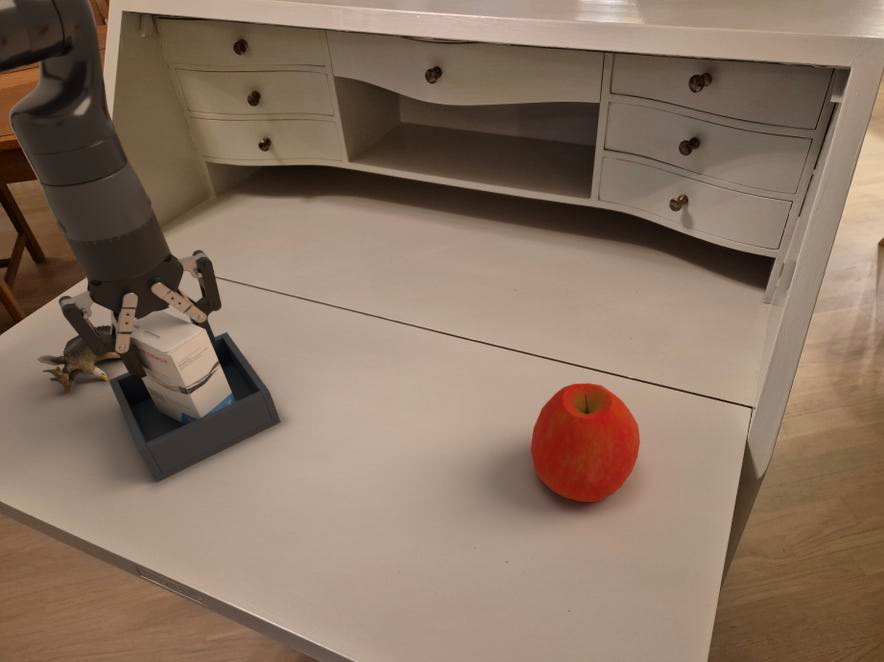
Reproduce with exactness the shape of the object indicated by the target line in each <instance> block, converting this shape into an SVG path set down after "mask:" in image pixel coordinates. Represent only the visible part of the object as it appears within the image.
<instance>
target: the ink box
mask: <svg viewBox="0 0 884 662" xmlns="http://www.w3.org/2000/svg"><path fill="white" fill-rule="evenodd" d="M130 343H131V345H132V347H133V349H134V351H135V353H136V355H137V357H138V359H139V361H140V362H141V364H142V366H143V368H144V370H145V372H146V374H147V376H146V377H144V378H142V380H143V382H144V384H145V386H146V387H147V389H148V391H149V393H150V395H151V397H152V399H153V401H154V403H155V405H156V407H157V409H158V411H159V412H161V413H163V414H165V415H167V416H169V417H171V418H173V419H175V420H177V421H179V422H181V423H183V424H185V425H187V424H189V423H191V422H193V421H195V420H197V419H200V418H202V417H204V416H206V415H208V414H211V413H213V412H215V411H217V410H219V409H221V408H224V407H226V406H228V405H230V404H232V403H235V402H236V401H235V399H234V396H233V394H232V392H231V389H230V387H229V384H228V382H227V380H226V377H225V375H224V372H223V370H222V368H221V365H220V363H219V361H218V358H217V356H216V354H215V351H214V349H213V346H212V344H211V342H210V339H209V337H208V334H207V332H206V330H205V329H203V328H201V327H199V326H196V325H194V324H192V322H189V321H187V320H185V319H183V318H180V317H178V316H175V315H173V314H171V313H168V312H166V311H164V310H162V311H155V312H152V313H150V314H149V315H147V316H146V317H143V318H141V319H138V320H137V319H136V318H134V326H133V332H132V333H131V337H130Z"/></svg>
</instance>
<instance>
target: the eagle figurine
mask: <svg viewBox="0 0 884 662" xmlns="http://www.w3.org/2000/svg"><path fill="white" fill-rule="evenodd" d="M94 327H95V328H96V330H97V331H98V332H99V334H100V335H108V334H110V331H111V325H109V324H107V325H98V326H94ZM111 359H121V358H120V356H119V354H117V353H115V352H107V353H106V354H105V355H103V356H96V355H95V354H94V353H93V352H92V351H91V349H90V348H89V347H88V346H87V344H86V343H85V342H84V341H83V339H82V338H81V337H80V336H79V334H77V335H76V336H74V337H73V338H71V339H69V340H67V342H66V344H65V347H64V349H63V351H62V355H58V356H55V355H50V354H44V355H40V356H39V357H37V358H36V361H38V362H39V363H41V364H44V365H50V366H55V367H56V368H51V369H44V370H42V372H43V373H50V374H51V375H53V376H54V377H50V378H49V380H50V382H56V383H59V384H60V385H61V386H62V387H63V390H64V392H65V393H67V394H68V393H69V392H70V391H71V389H72V387H73V385H74V384H73V382H74V380H75V378H76V377H77V375H78V374H79V373H81V374H85V375H90V376H94V377H97V378H100V379H103V380H104V381H105V382H109V378H108V376H107V374H106V373H105V372H104V371H103V370H102V369H100V368H99V367H98V366H96V365H95V364H96V363H98V362H100V361H104V360H111ZM60 365H62V366H63V368H60Z"/></svg>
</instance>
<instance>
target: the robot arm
mask: <svg viewBox="0 0 884 662" xmlns="http://www.w3.org/2000/svg"><path fill="white" fill-rule="evenodd" d="M35 64H38V67H39V79H38V81H37V84H36V86H35V87H34V88H33V90H31V91H30V92H29V93H28V94H27V95H25V96H24V97H22V98H21V99H19V101H17V102H16V103H15V104H14V105H13V106H12V107H11V109H10V110H9V112H8V121H9V126H10V128H11V130H12V133H13V134H14V136H15V138H16V141H17V142H18V145H19V146H20V148H21V150H22V152H23V154H24V156H25V157H26V160H27V161H28V163H29V165H30V167H31V169H32V171H33V173H34V175H35V177H36V179H37V180H38V183H39V184H40V187H41V190H42V192H43V195H44V197H45V200H46V203H47V205H48V208H49V210H50V212H51V214H52V215H53V217H54V219H55V222H56V226H57V228H58V229H59V231H60V232H61V233H62V235H63V237H64V238H65V240H66V242H67V244H68V246H69V248H70V249H71V251H72V253H73V255H74V257H75V260H76V262H77V263H78V265H79V267H80V268H81V270H82V272H83V274H84V276H85V278H86V280H87V288H86V291H83V292H81V293H79V294H77V295H75V296H70V295H63V296H61V297H60V298H59V299H58V305H59V307H60V310H61V312H62V314H63V317H64V319H66V320H67V322H68V323H69V324H70V326H71V327H72V329H74V331H75V332H76V333H77V335H79V336H80V337H81V338H82V339H83V341H84V342H85V343H86V344H87V346H88V347H89V348H90V349H91V351H92V352H93V353H94V354H95V355H96V356H103V355H105V354H106V353H107V352H115V353H117V354H119V356H120V358H119V359H120V360H121V362H122V363H123V365H124V367H125V368H126V370H127V372H129V374H131V375H132V376H135V375H137V374H138V375H139V377H140V379H141V378H144V377H146V376H147V374H146V372H145V370H144V368H143V366H142V364H141V362H140V361H139V359H138V357H137V355H136V353H135V351H134V349H133V347H132V345H131V343H130V337H131V333H132V332H133V326H134V320H135V319H137V320H138V319H141V318H143V317H146V316H147V315H149V314H150V313H152V312H155V311H164V310H168V309H170V306H171V307H173V308H175V309H176V310H177V311H179V312H180V313H182V314H185V315H186V316H188V318H189V320H190V323H192V324H194V325H196V326H199V327H201V328H203V329H205V330H206V332H207V334H208V337H209V339H210V342H211V344H212V343H215V337H216V336H215V335H214V332H213V330H212V327H211V325H210V321H209V316H210V314H211V313H213V312H218V311H220V310H221V309H222V300H221V296H220V291H219V288H218V287H219V286H218V283H217V277H216V273H215V270H214V266H213V265H214V264H213V262H212V260H211V259H210V258H209V257H208V255H207V254H206V253H205V252H204V250H202V249H196V250H194V251H193V252H192V255H191V256H187V257H182V258H178V257H177V256H175V255H174V254H172V252H171V249H170V247H169V244H168V242H167V239H166V238H165V235H164V231H163V230H162V228H161V224H160V223H159V220H158V218H157V216H156V213H155V211H154V209H153V206H152V205H153V204H152V201H151V198H150V196H149V195H148V194H147V191H146V189H145V187H144V185H143V182H142V181H141V179H140V176H139V175H138V173H137V172H136V170H135V169H134V167H133V165H132V163H131V161H130V159H129V157H128V155H127V152H126V150H125V148H124V145H123V142H122V141H121V138H120V136H119V134H118V131H117V128H116V127H115V123H114V121H113V119H112V117H111V114H110V111H109V106H108V99H107V93H106V84H105V83H106V82H105V78H104V77H105V76H104V70H103V64H102V57H101V49H100V41H99V34H98V29H97V23H96V19H95V15H94V11H93V8H92V6H91V3H90V0H0V74H5V73H8V72H12V71H15V70H18V69H23V68H24V67H28V66H30V65H35ZM184 272H189V274H190V275H191V276H192V278H194V279H197V280H198V285H199V289H200V293H201V297H200V298H199V299H198V300H197V301H196V300H195V299H193V298H191V297H190V296H189V295H188V294H187V293H185V292H184V291H183V290H182V289H181V288H180V285H181V282H182V278H183V277H184V276H183V275H184ZM93 304H96V305H98V306H101V307H102V308H105V309H107V310H109V311H110V321H111V323H110V326H111V331H110V334H108V335H100V334H99V332H98V331H97V330H96V328H95V327H96V326H94V325H93V323H92V322H91V321H90V319H89V318H91V317H92V315H93V312H92V309H91V307H92V305H93Z"/></svg>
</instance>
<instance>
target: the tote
mask: <svg viewBox="0 0 884 662" xmlns="http://www.w3.org/2000/svg"><path fill="white" fill-rule="evenodd" d="M214 337H215V343H212V346H213V349H214V351H215V354H216V356H217V358H218V361H219V363H220V365H221V368H222V370H223V372H224V375H225V377H226V380H227V382H228V384H229V387H230V389H231V392H232V394H233V396H234V399H235V401H236V402H235V403H232V404H230V405H228V406H226V407H224V408H221V409H219V410H217V411H215V412H213V413H211V414H208V415H206V416H204V417H202V418H200V419H197V420H195V421H193V422H191V423H189V424H187V425H185V424H183V423H181V422H179V421H177V420H175V419H173V418H171V417H169V416H167V415H165V414H163V413H161V412H159V411H158V409H157V407H156V405H155V403H154V401H153V399H152V397H151V395H150V393H149V391H148V389H147V387H146V386H145V384H144V382H143V380H142V378H141V379H140V377H139V375H138V374H137V375H135V376H132V375H131V374H129V372H128V371H127V372H125V373H123V374H120V375H117V376H115V377H113V378H111V379H108V382H109V384H110V387H111V389H112V391H113V394H114V396H115V399H116V401H117V404H118V405H119V408H120V410H121V412H122V415H123V417H124V419H125V423H126V424H127V426H128V429H129V431H130V435H131V436H132V439H133V441H134V443H135V446H136V448H137V450H138V452H139V454H140V456H141V458H142V459H143V460H144V463H145V464H146V466H147V468H148V469H149V472H151V474H152V476H153V477H154V479H155V481H156V482H157V483H159V482H161V481H163V480H165V479H167V478H169V477H171V476H173V475H175V474H178V473H179V472H181V471H184V470H185V469H188V468H190V467H192V466H194V465H196V464H198V463H201V462H202V461H204V460H207V459H209V458H210V457H213V456H214V455H216V454H219V453H221V452H223V451H225V450H227V449H229V448H231V447H233V446H236V445H237V444H239V443H242V442H243V441H245V440H247V439H249V438H252V437H253V436H256V435H257V434H260V433H261V432H263V431H266V430H269V429H270V428H272V427H275V426H276V425H278V424H280V423H281V422H282V421H281V419H280V416H279V413H278V411H277V408H276V405H275V402H274V400H273V397H272V394H271V391H270V389H269V388H268V387H267V385H266V384H265V383H264V381H263V380H262V379H261V377H260V375H258V373H257V372H256V370H255V369H254V368H253V366H252V365H251V363H250V362H249V361H248V359H247V357H246V356H245V355H244V354H243V352H242V351H241V350H240V348H239V347H238V346H237V344H236V343H235V341H234V340H233V339H232V337H231V336H230V335H229V333H228V332H227V331H226V332H223V333H220V334H218V335H216V336H214Z"/></svg>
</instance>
